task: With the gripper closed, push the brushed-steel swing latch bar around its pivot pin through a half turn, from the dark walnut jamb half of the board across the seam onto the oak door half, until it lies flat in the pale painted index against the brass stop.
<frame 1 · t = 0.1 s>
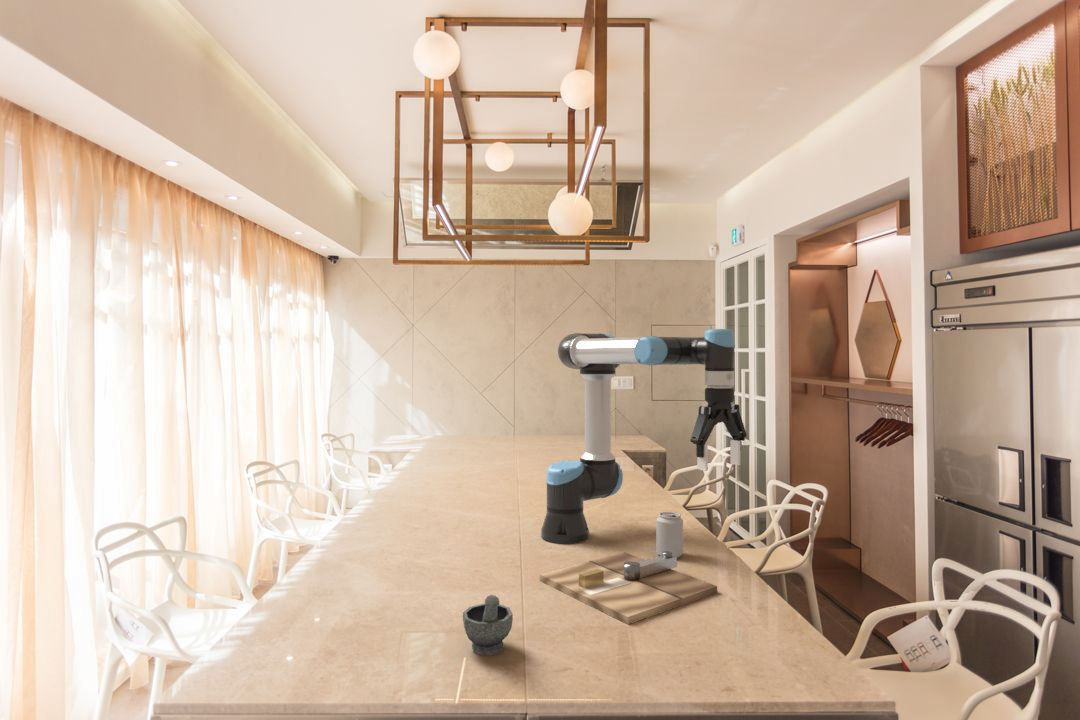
hand: (719, 467, 164), 28 cm above the table, fingers open, 13 cm apart
can: (669, 556, 178), on the table
latch bar: (650, 565, 159), point 4 cm above the table, hinge at 180.0°
mortar and pestle: (488, 650, 121), on the table
door board: (631, 584, 155), on the table
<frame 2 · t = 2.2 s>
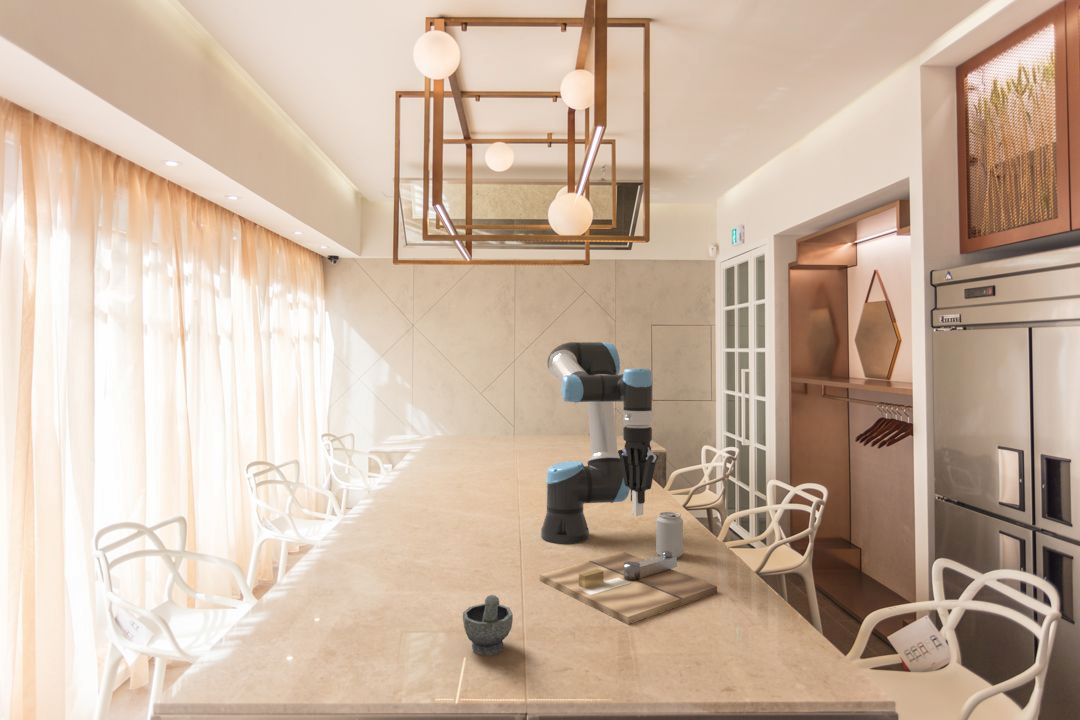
hand: (637, 514, 165), 15 cm above the table, fingers closed
nothing on the table moved.
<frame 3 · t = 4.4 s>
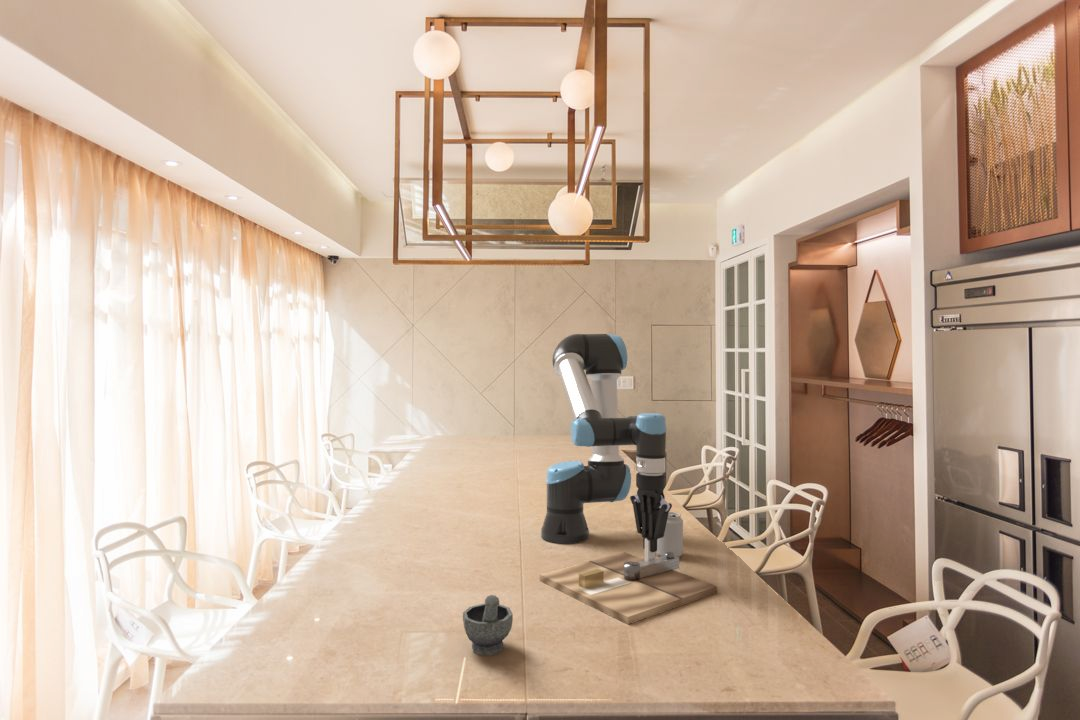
hand: (650, 563, 161), 3 cm above the table, fingers closed
latch bar: (651, 565, 159), point 4 cm above the table, hinge at 176.2°, touching gripper
everything else where it was.
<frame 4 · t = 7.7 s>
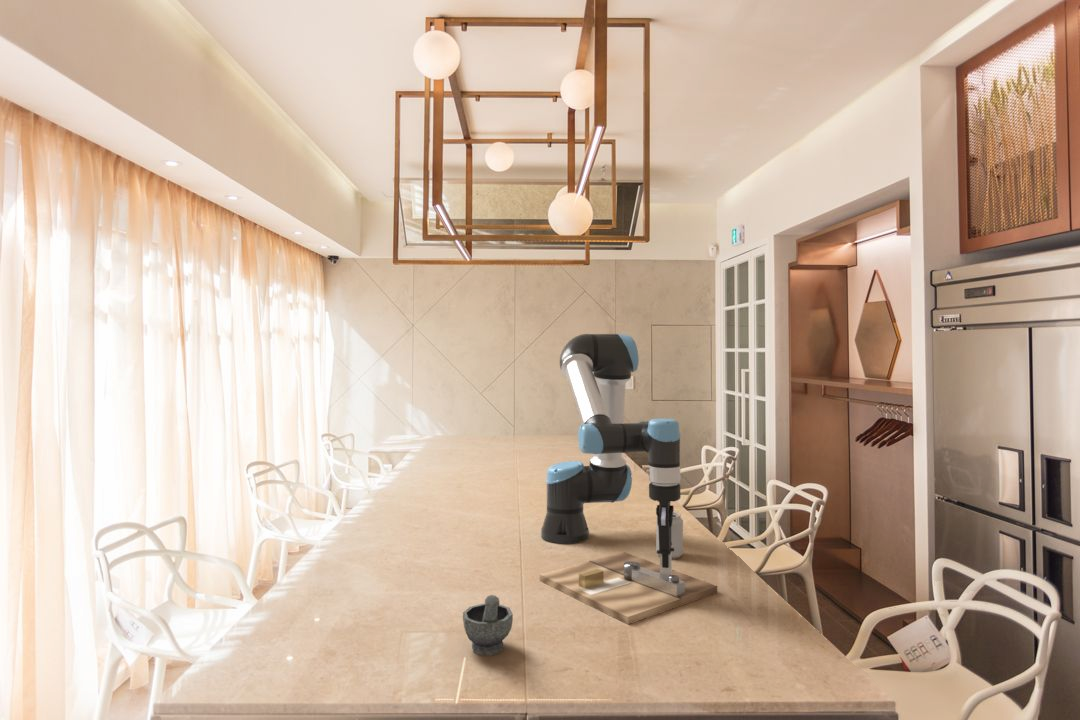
hand: (665, 579, 151), 3 cm above the table, fingers closed
latch bar: (652, 577, 150), point 4 cm above the table, hinge at 94.1°, touching gripper
everything else where it was.
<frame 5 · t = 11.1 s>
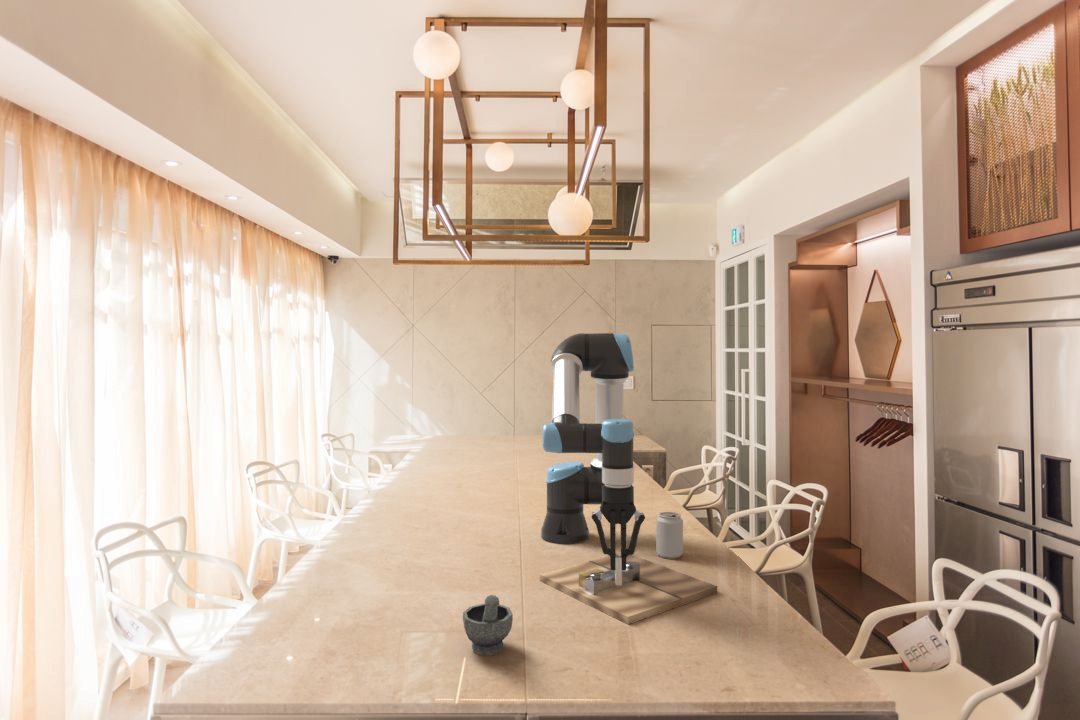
hand: (618, 583, 148), 3 cm above the table, fingers closed
latch bar: (614, 576, 151), point 4 cm above the table, hinge at 4.2°, touching gripper
everything else where it was.
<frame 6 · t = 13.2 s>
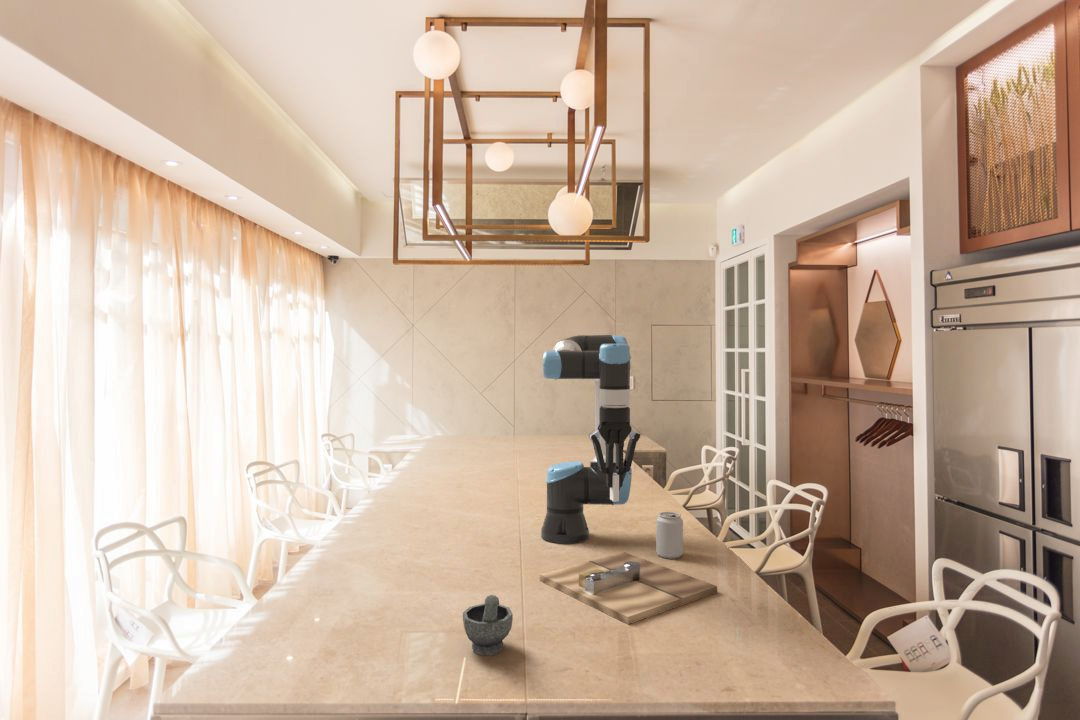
hand: (614, 500, 154), 22 cm above the table, fingers closed
latch bar: (614, 576, 151), point 4 cm above the table, hinge at 4.0°
everything else where it was.
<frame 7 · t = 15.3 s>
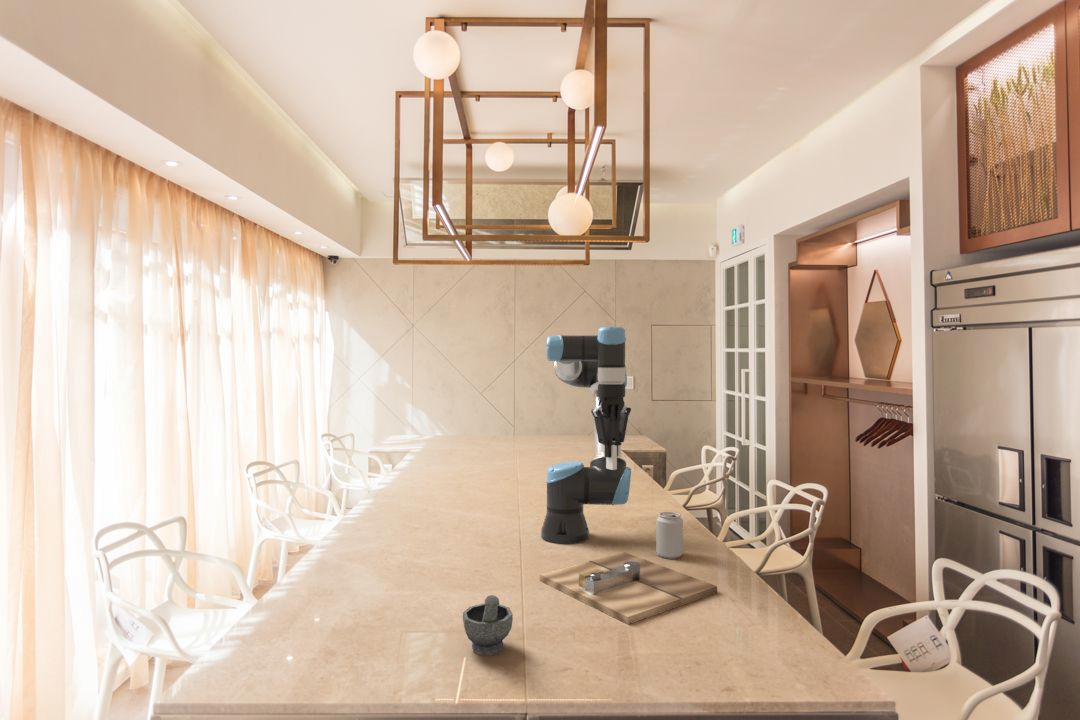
hand: (611, 468, 170), 26 cm above the table, fingers closed
nothing on the table moved.
at the end: latch bar at +4° (first picture: +180°); latch bar touching nothing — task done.
